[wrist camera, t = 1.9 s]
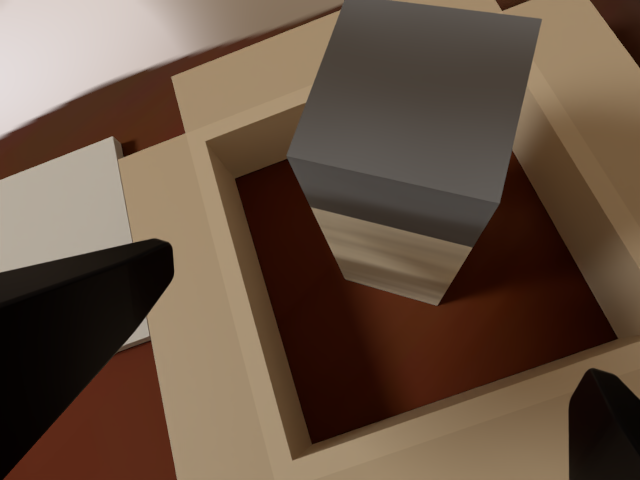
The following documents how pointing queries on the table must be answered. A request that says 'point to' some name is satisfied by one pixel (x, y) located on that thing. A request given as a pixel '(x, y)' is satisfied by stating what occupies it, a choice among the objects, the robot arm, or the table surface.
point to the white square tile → (66, 212)
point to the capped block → (411, 138)
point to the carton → (254, 303)
